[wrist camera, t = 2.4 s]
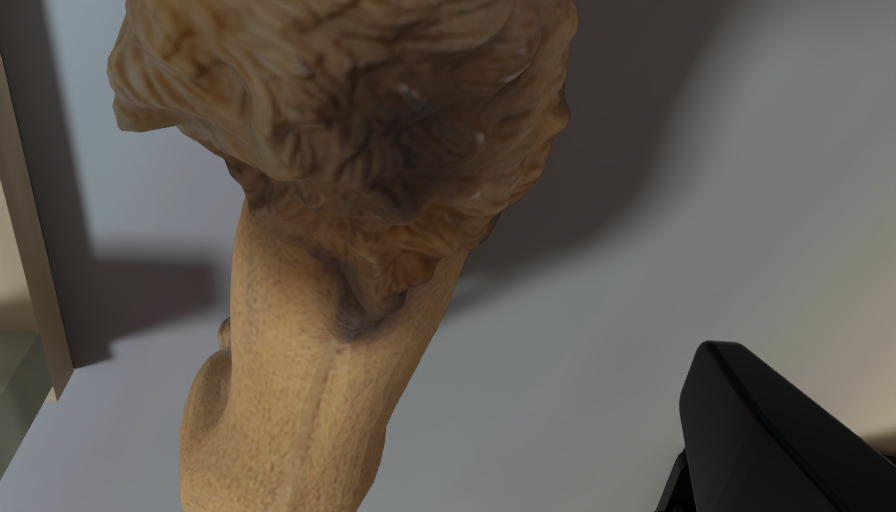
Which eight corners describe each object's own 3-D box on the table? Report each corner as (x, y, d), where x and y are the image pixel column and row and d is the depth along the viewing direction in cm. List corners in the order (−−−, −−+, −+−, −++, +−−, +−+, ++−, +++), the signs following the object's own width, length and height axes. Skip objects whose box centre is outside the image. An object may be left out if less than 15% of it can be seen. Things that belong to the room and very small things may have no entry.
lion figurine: (182, -363, 11) (-381, -551, 3) (564, -300, 11) (850, -337, 4) (220, 405, 19) (88, 850, 11) (438, 420, 19) (447, 856, 12)
